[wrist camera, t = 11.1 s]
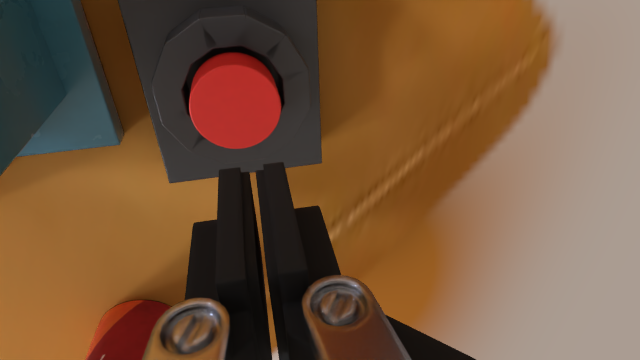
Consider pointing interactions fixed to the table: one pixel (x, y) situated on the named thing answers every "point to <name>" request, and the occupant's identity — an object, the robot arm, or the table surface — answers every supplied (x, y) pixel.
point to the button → (234, 100)
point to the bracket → (51, 82)
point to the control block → (215, 38)
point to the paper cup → (125, 330)
